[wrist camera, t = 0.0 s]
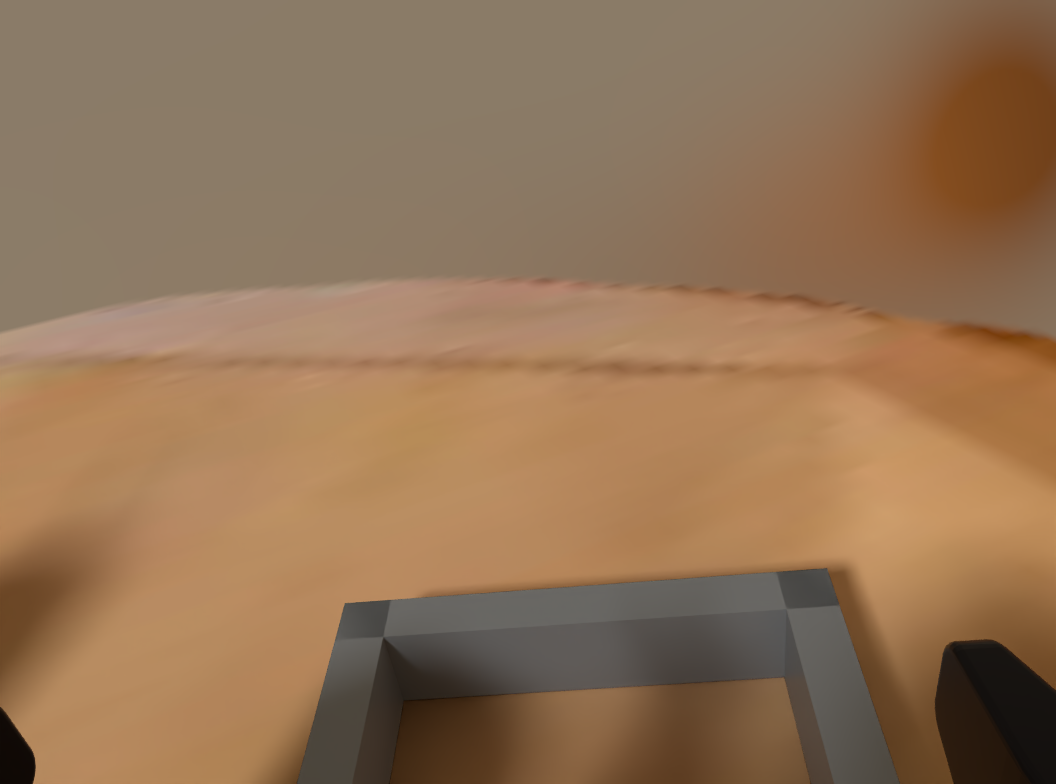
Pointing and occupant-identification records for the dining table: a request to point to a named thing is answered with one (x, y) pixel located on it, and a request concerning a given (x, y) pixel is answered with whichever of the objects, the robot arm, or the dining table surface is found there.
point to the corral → (598, 661)
